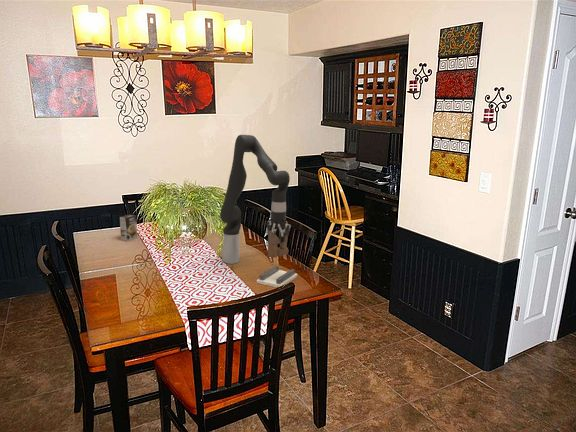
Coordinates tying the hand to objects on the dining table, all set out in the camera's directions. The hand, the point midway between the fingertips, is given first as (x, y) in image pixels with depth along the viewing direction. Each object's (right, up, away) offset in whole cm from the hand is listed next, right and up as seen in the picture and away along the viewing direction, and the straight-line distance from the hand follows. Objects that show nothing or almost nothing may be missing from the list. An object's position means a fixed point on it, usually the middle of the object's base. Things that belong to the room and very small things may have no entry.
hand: (278, 241), depth 227 cm
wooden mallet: (0, -7, +2) cm, 8 cm away
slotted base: (0, -20, +5) cm, 21 cm away
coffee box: (-102, -2, +69) cm, 123 cm away
